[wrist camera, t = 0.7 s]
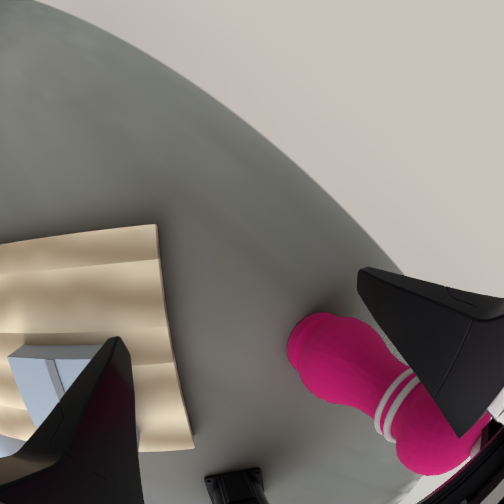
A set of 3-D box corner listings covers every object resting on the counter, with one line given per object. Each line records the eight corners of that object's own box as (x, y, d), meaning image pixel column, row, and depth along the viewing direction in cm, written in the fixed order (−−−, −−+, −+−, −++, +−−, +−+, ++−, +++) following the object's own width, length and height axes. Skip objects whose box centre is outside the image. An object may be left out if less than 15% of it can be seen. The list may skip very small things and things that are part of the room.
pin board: (193, 435, 22) (195, 448, 20) (4, 425, 16) (-3, 433, 14) (157, 225, 21) (155, 224, 19) (-45, 254, 15) (-56, 255, 13)
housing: (140, 433, 19) (138, 456, 16) (56, 429, 16) (46, 448, 13) (113, 343, 18) (103, 359, 15) (23, 344, 16) (6, 357, 13)
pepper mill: (285, 306, 24) (502, 420, 4) (352, 305, 26) (544, 367, 6) (277, 380, 24) (420, 536, 4) (341, 372, 26) (493, 472, 6)
